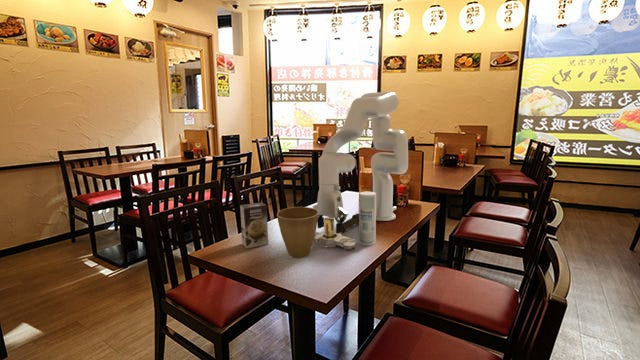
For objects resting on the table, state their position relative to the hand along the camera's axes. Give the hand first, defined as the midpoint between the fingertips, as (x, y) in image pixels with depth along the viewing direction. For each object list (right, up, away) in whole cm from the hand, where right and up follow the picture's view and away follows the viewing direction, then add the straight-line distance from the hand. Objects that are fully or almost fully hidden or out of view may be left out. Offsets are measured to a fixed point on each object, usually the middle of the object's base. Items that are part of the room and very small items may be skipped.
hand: (329, 230), depth 139 cm
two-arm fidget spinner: (0, -5, +1) cm, 5 cm away
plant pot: (-12, -8, -10) cm, 17 cm away
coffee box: (-30, -6, +2) cm, 30 cm away
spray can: (+15, -5, 0) cm, 16 cm away
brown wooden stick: (+9, -2, +20) cm, 22 cm away
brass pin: (0, -5, +1) cm, 5 cm away
